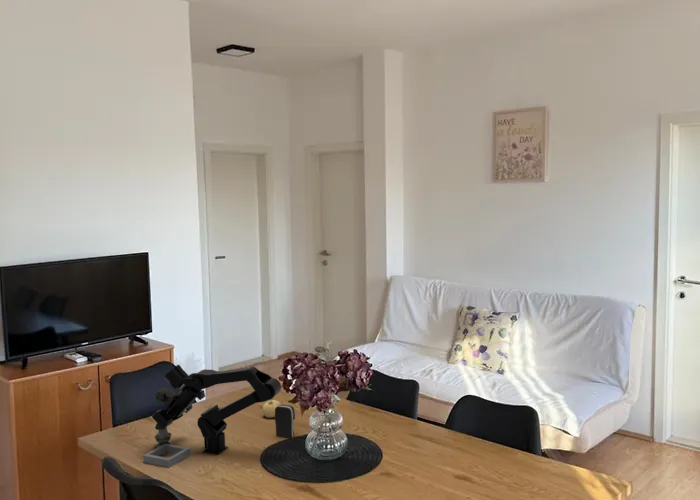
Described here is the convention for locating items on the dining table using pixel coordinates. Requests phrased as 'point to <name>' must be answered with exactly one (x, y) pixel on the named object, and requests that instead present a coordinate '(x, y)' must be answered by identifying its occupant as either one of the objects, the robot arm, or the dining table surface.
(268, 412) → the onion
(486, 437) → the dining table surface
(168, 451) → the frame
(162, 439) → the grey tall tiered piece
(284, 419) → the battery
